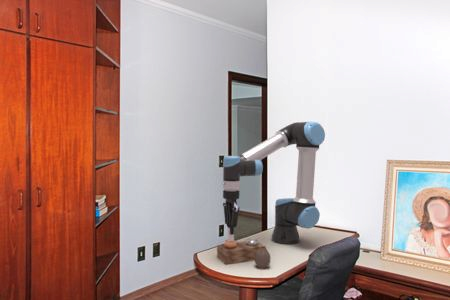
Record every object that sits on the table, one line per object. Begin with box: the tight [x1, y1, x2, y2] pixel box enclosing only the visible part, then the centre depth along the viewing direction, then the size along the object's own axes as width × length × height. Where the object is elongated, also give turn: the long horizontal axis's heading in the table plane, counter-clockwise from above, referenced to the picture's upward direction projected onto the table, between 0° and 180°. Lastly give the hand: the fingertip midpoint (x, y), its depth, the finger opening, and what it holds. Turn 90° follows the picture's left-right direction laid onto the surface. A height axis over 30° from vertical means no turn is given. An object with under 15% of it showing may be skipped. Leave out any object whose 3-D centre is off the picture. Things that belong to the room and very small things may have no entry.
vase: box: [254, 245, 271, 269], centre depth 159 cm, size 7×7×9 cm
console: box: [216, 241, 266, 266], centre depth 169 cm, size 20×10×6 cm, turn 114°
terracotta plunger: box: [224, 239, 238, 248], centre depth 167 cm, size 6×6×6 cm
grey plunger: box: [245, 238, 259, 246], centre depth 172 cm, size 6×6×6 cm
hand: (230, 240), depth 167 cm, fingers closed
